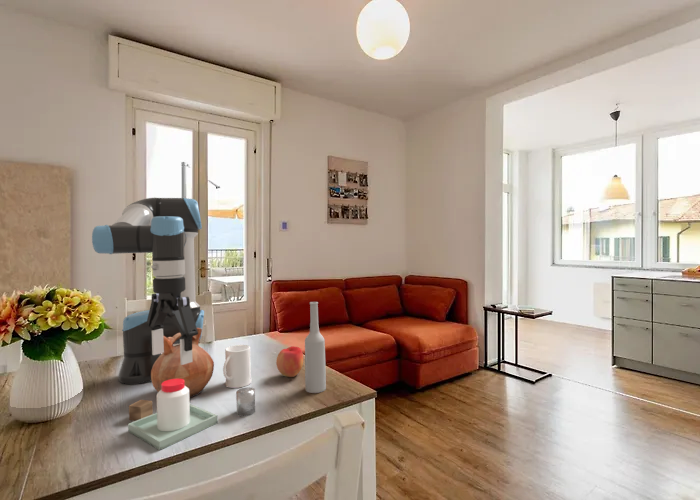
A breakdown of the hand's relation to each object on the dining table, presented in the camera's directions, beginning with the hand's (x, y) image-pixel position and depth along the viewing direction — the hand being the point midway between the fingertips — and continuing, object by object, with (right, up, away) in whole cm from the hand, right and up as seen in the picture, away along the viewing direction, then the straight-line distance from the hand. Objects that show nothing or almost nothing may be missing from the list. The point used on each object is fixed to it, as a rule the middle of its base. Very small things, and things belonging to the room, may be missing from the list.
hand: (171, 358), depth 96 cm
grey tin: (+17, -18, +8) cm, 26 cm away
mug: (+8, -17, +28) cm, 34 cm away
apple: (+25, -17, +35) cm, 46 cm away
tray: (0, -18, 0) cm, 18 cm away
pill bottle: (0, -18, 0) cm, 18 cm away
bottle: (+35, -17, +23) cm, 45 cm away
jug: (-7, -18, +23) cm, 29 cm away
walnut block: (-11, -18, +6) cm, 22 cm away
